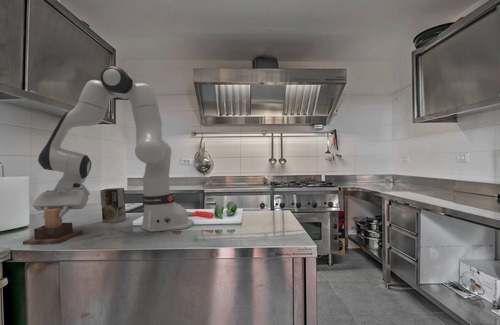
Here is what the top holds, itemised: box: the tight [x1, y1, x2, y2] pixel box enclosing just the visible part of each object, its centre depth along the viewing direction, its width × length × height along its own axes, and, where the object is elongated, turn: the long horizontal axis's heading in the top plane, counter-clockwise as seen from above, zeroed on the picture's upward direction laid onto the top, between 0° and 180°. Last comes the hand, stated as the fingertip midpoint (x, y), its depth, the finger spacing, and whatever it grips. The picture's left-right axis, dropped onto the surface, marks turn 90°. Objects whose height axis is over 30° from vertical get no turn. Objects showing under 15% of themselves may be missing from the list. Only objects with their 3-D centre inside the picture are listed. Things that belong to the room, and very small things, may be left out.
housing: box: [22, 222, 84, 245], centre depth 111 cm, size 14×14×5 cm
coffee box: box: [99, 187, 127, 223], centre depth 139 cm, size 9×6×16 cm
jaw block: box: [43, 208, 63, 228], centre depth 111 cm, size 4×4×9 cm
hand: (52, 217), depth 111 cm, fingers closed on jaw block, 4 cm apart
